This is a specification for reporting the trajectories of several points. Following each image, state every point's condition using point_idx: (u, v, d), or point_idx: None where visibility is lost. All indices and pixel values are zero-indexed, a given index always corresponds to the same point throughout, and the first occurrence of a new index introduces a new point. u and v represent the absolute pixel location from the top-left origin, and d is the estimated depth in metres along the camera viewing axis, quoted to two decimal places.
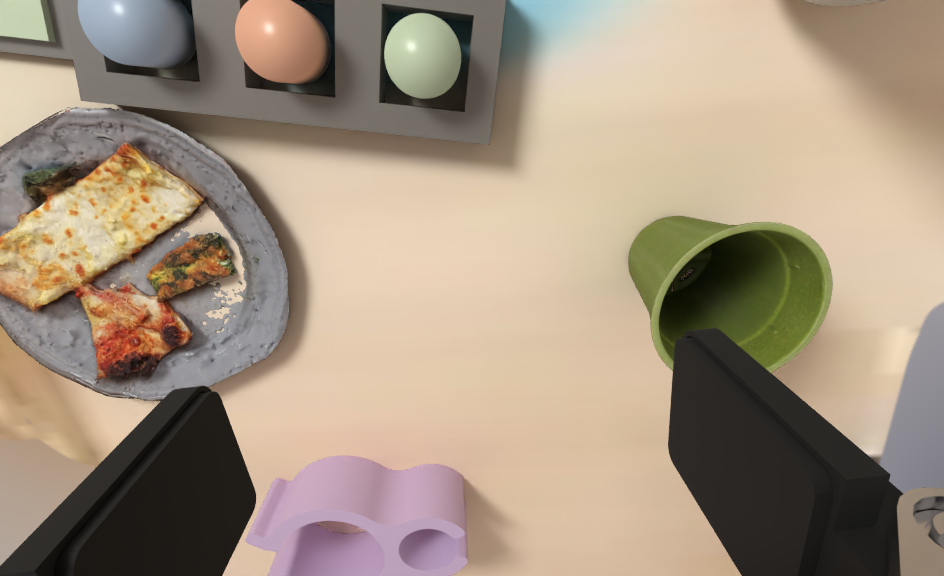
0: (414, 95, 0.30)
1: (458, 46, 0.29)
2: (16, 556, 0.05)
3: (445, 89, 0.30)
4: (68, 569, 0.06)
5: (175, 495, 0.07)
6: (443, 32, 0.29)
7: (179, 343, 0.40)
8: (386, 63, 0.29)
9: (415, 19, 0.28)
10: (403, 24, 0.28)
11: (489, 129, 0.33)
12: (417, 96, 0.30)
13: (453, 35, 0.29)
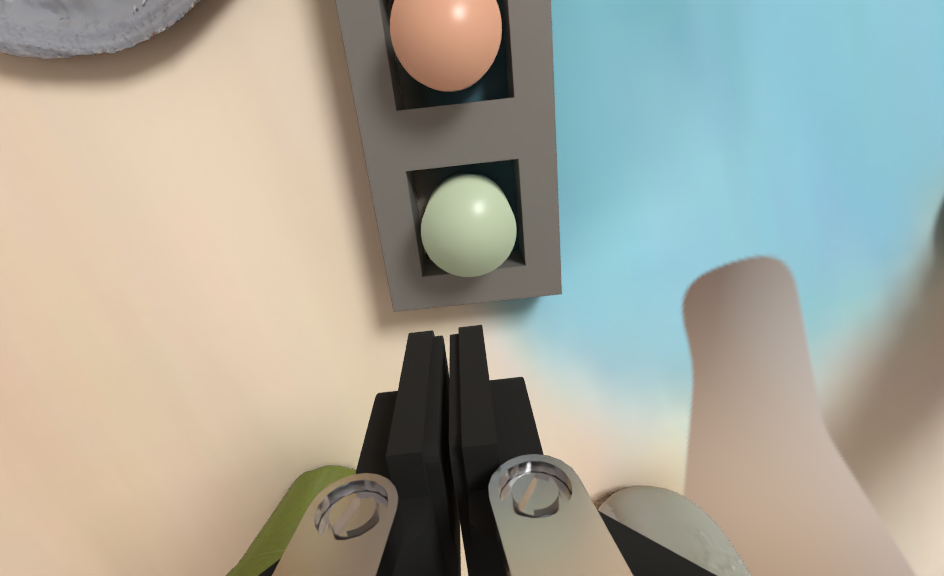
0: (422, 229, 0.23)
1: (489, 270, 0.24)
2: (393, 443, 0.07)
3: (439, 265, 0.24)
4: (436, 454, 0.07)
5: (445, 416, 0.09)
6: (500, 251, 0.24)
7: None
8: (451, 188, 0.22)
9: (507, 216, 0.23)
10: (499, 203, 0.23)
11: (410, 307, 0.27)
12: (422, 233, 0.23)
13: (499, 263, 0.24)
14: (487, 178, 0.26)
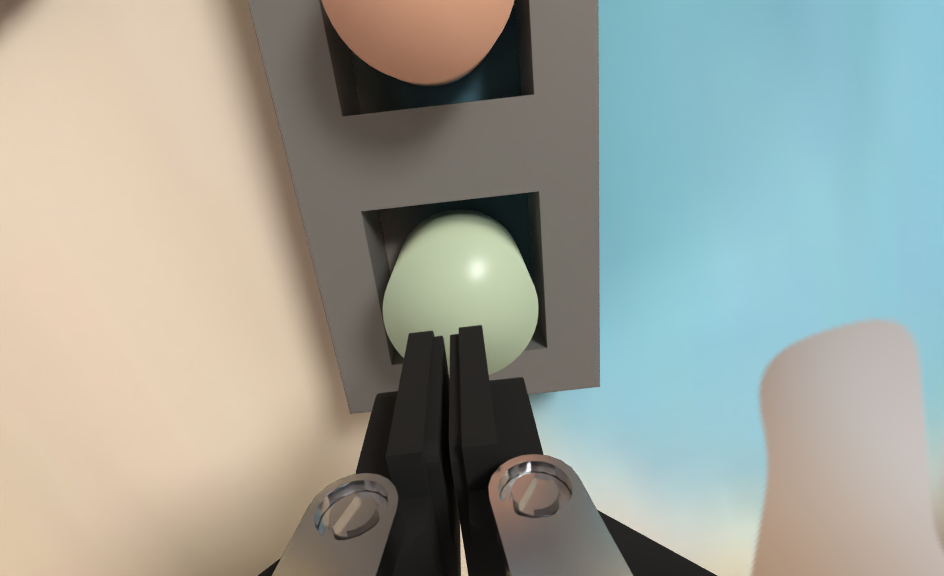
0: (385, 310, 0.14)
1: (494, 371, 0.15)
2: (393, 444, 0.07)
3: None
4: (436, 454, 0.07)
5: (445, 416, 0.09)
6: (511, 341, 0.15)
7: None
8: (431, 246, 0.13)
9: (524, 289, 0.14)
10: (511, 268, 0.14)
11: None
12: (385, 316, 0.14)
13: (510, 359, 0.15)
14: (489, 219, 0.17)
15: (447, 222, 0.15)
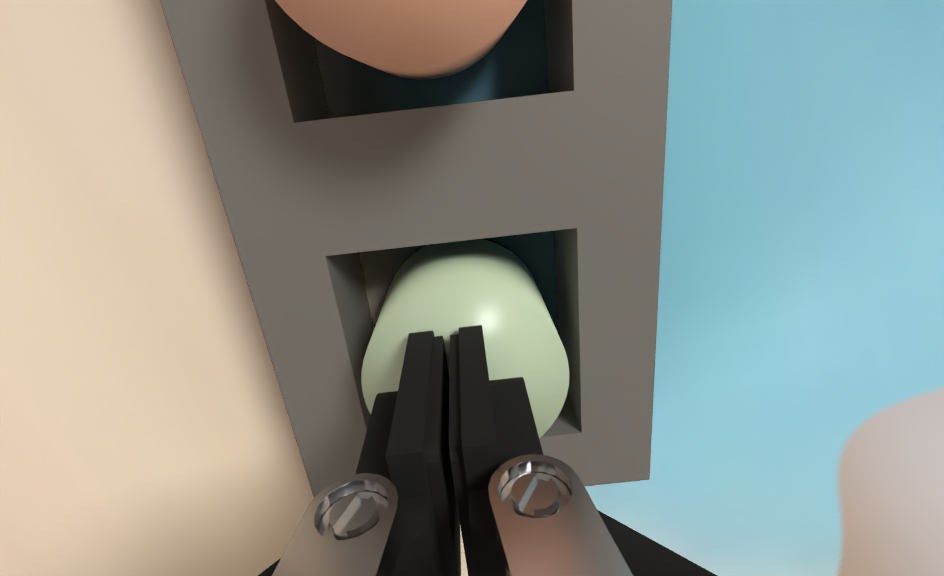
0: (365, 381, 0.11)
1: None
2: (393, 443, 0.07)
3: None
4: (436, 454, 0.07)
5: (446, 416, 0.09)
6: None
7: None
8: (426, 298, 0.10)
9: (551, 353, 0.10)
10: (534, 327, 0.10)
11: None
12: (365, 388, 0.11)
13: None
14: (501, 250, 0.13)
15: (448, 258, 0.12)
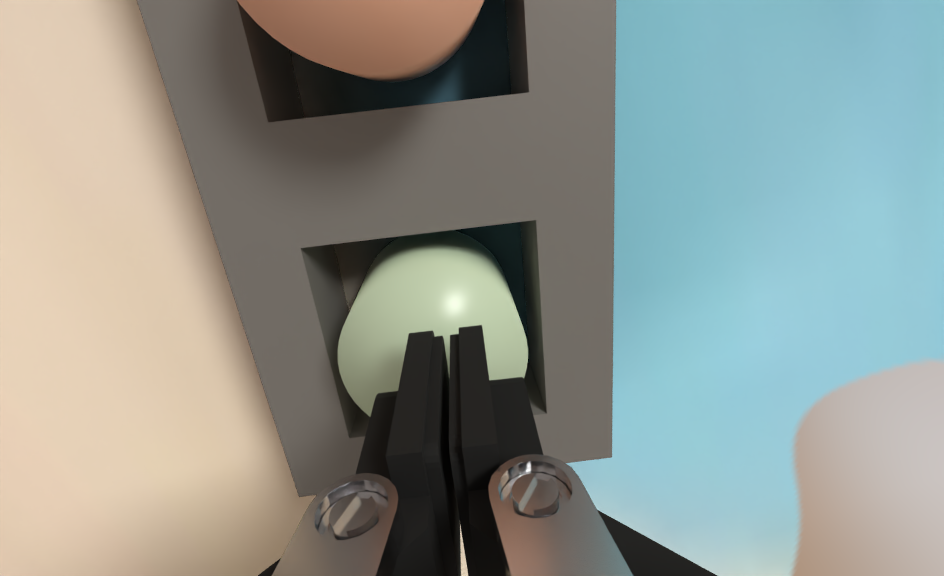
0: (341, 358, 0.12)
1: None
2: (393, 443, 0.07)
3: None
4: (436, 454, 0.07)
5: (445, 416, 0.09)
6: None
7: None
8: (395, 281, 0.11)
9: (511, 330, 0.12)
10: (494, 306, 0.11)
11: None
12: (341, 365, 0.12)
13: None
14: (469, 240, 0.14)
15: (418, 247, 0.13)
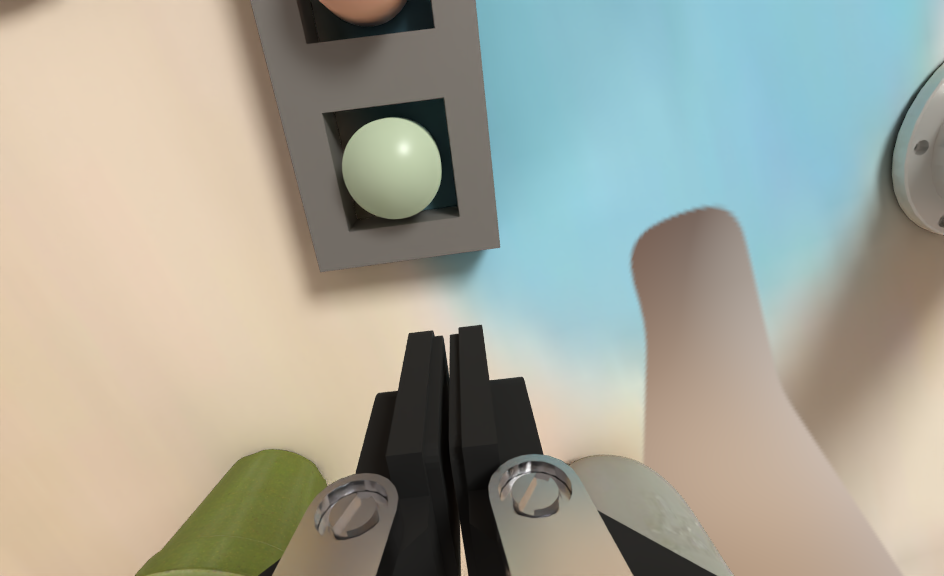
0: (344, 168, 0.22)
1: (416, 212, 0.23)
2: (393, 443, 0.07)
3: (364, 206, 0.23)
4: (436, 454, 0.07)
5: (445, 416, 0.09)
6: (426, 190, 0.23)
7: None
8: (370, 124, 0.22)
9: (431, 153, 0.22)
10: (421, 138, 0.22)
11: (338, 267, 0.25)
12: (344, 173, 0.22)
13: (426, 203, 0.23)
14: (415, 121, 0.25)
15: (384, 118, 0.24)
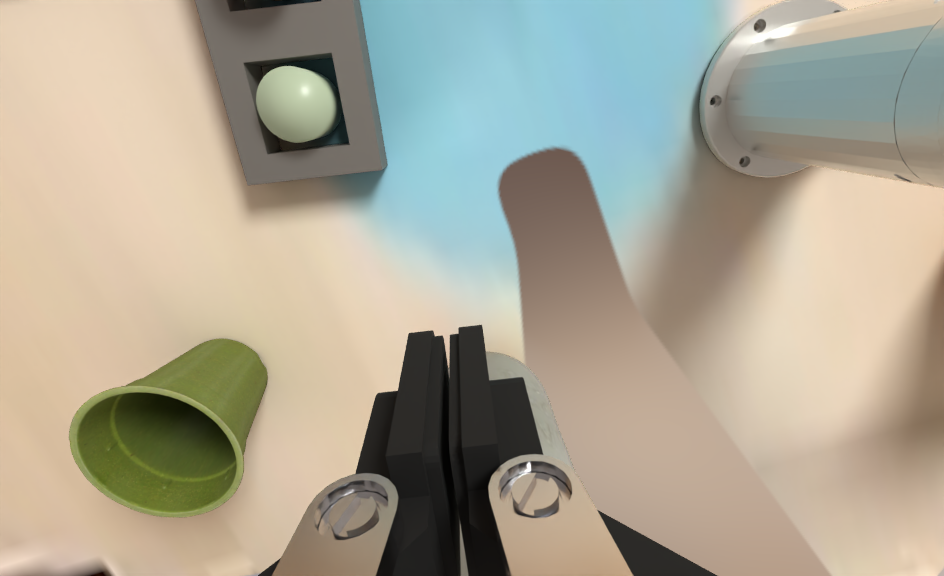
0: (257, 103, 0.31)
1: (312, 137, 0.32)
2: (393, 443, 0.07)
3: (274, 132, 0.32)
4: (436, 454, 0.07)
5: (445, 416, 0.09)
6: (318, 121, 0.32)
7: None
8: (275, 69, 0.30)
9: (320, 92, 0.31)
10: (312, 81, 0.31)
11: (261, 182, 0.34)
12: (257, 106, 0.31)
13: (319, 130, 0.32)
14: (319, 73, 0.34)
15: None
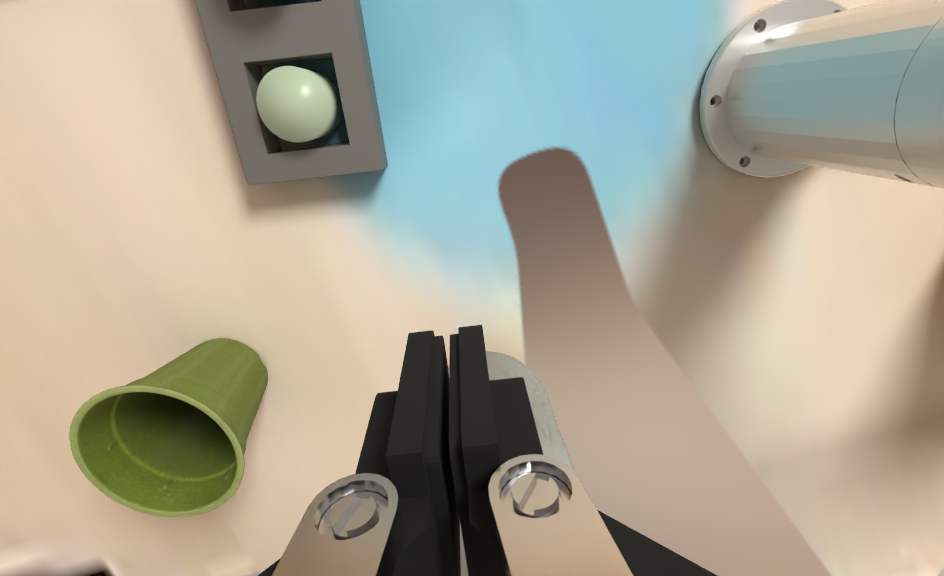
0: (257, 102, 0.31)
1: (312, 137, 0.32)
2: (393, 444, 0.07)
3: (274, 132, 0.32)
4: (436, 455, 0.07)
5: (445, 416, 0.09)
6: (319, 120, 0.32)
7: None
8: (275, 69, 0.30)
9: (320, 92, 0.31)
10: (312, 81, 0.31)
11: (261, 181, 0.34)
12: (258, 106, 0.31)
13: (319, 130, 0.32)
14: (319, 73, 0.34)
15: None
